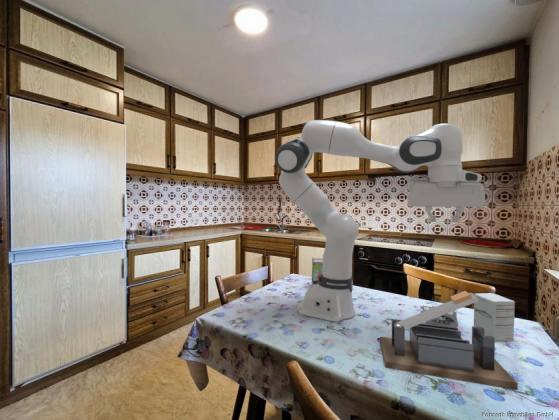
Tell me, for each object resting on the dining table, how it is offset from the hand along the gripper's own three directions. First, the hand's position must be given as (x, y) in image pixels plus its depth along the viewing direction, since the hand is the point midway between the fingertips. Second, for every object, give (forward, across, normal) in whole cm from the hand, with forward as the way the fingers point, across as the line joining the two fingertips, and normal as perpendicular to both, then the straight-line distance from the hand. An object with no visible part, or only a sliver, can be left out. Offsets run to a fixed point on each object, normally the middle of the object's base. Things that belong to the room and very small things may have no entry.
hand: (443, 221), depth 77 cm
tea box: (+38, -39, +39) cm, 67 cm away
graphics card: (+38, +2, +12) cm, 40 cm away
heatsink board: (+37, -5, -13) cm, 40 cm away
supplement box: (+37, +17, +8) cm, 42 cm away
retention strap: (+25, -6, -13) cm, 29 cm away
